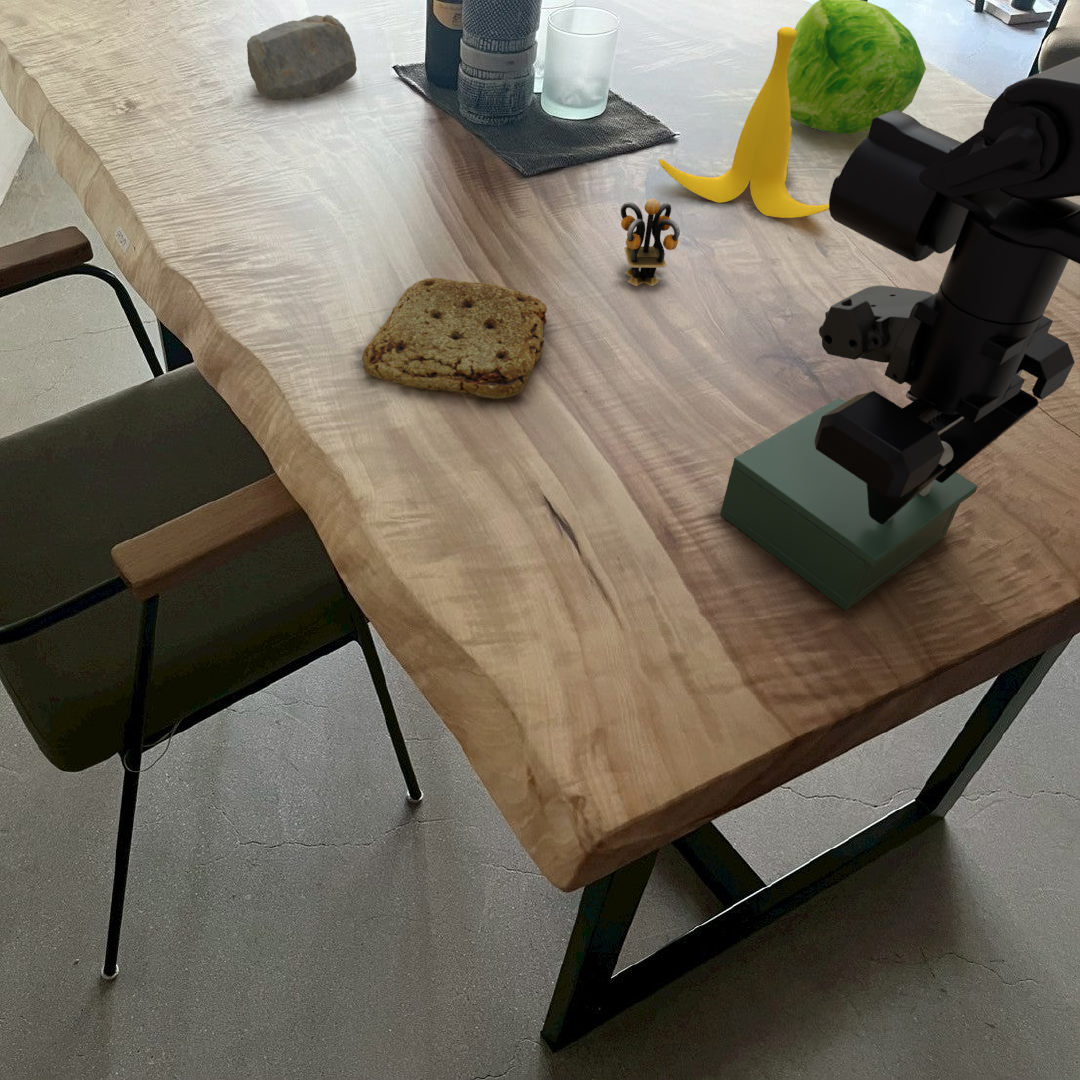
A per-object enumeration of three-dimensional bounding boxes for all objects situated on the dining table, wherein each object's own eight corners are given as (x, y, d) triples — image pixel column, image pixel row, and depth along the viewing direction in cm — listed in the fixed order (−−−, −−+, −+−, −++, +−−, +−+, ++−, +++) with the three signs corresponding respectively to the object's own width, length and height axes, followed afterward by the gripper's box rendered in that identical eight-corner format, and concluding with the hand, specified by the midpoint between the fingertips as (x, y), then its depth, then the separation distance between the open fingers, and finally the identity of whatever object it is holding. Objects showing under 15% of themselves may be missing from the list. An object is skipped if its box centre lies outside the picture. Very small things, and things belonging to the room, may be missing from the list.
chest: (944, 537, 76) (967, 489, 73) (845, 611, 71) (865, 562, 67) (820, 453, 82) (836, 404, 79) (719, 514, 77) (731, 465, 73)
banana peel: (649, 189, 111) (672, 24, 99) (778, 150, 119) (813, -7, 107) (757, 261, 102) (796, 88, 90) (887, 213, 110) (940, 49, 98)
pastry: (497, 273, 98) (497, 245, 96) (599, 373, 88) (603, 344, 86) (323, 320, 91) (320, 290, 89) (413, 435, 81) (412, 404, 79)
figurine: (667, 263, 101) (672, 184, 95) (676, 291, 97) (682, 211, 91) (618, 267, 100) (620, 188, 94) (625, 295, 97) (627, 215, 91)
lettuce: (832, 85, 134) (893, -21, 124) (893, 180, 123) (966, 73, 113) (735, 60, 129) (791, -52, 119) (790, 158, 117) (857, 43, 107)
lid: (975, 493, 72) (1001, 438, 69) (872, 567, 67) (895, 512, 63) (836, 404, 79) (853, 350, 75) (732, 465, 73) (745, 409, 70)
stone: (271, 111, 119) (262, 39, 114) (242, 85, 124) (232, 15, 118) (367, 90, 125) (363, 21, 119) (336, 66, 129) (331, -2, 123)
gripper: (964, 193, 67) (892, 388, 78) (774, 283, 58) (723, 489, 69) (1125, 269, 62) (1023, 467, 73) (942, 382, 53) (857, 589, 64)
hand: (907, 498), depth 70 cm, fingers open, 6 cm apart
